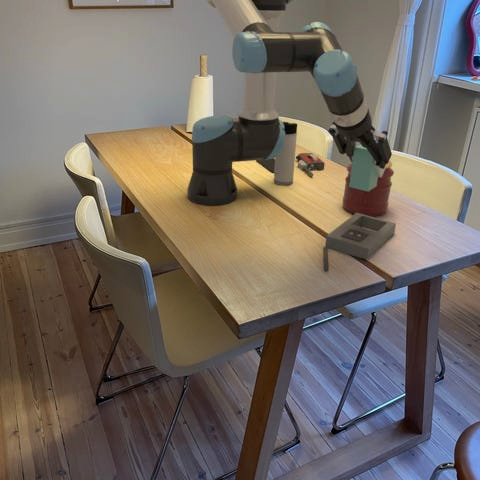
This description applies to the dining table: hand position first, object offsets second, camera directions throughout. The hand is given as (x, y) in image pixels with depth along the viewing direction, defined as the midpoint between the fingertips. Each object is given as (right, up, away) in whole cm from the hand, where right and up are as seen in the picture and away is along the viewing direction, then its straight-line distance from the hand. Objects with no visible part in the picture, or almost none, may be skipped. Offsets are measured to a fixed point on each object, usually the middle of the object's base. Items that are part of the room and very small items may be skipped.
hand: (371, 170), depth 123 cm
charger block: (-2, -4, -1) cm, 5 cm away
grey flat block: (-2, -18, +3) cm, 18 cm away
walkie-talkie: (-8, +8, +53) cm, 54 cm away
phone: (-21, +8, +53) cm, 58 cm away
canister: (+4, -8, +21) cm, 23 cm away
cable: (-13, -22, -7) cm, 27 cm away
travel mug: (-19, +1, +39) cm, 43 cm away
